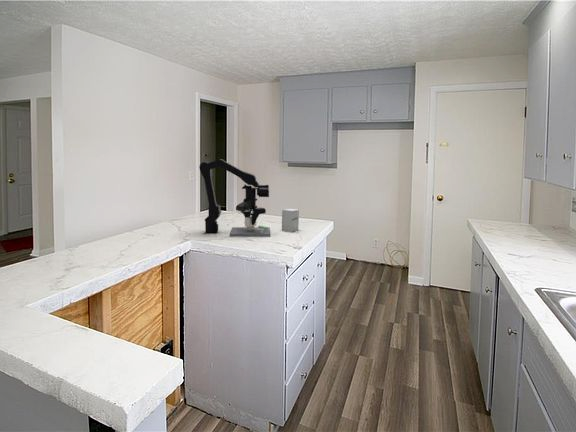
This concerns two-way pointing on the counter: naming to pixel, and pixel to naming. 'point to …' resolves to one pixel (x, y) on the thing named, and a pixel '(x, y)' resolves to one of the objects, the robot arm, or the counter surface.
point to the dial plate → (250, 232)
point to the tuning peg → (250, 224)
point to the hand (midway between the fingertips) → (250, 224)
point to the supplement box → (290, 220)
